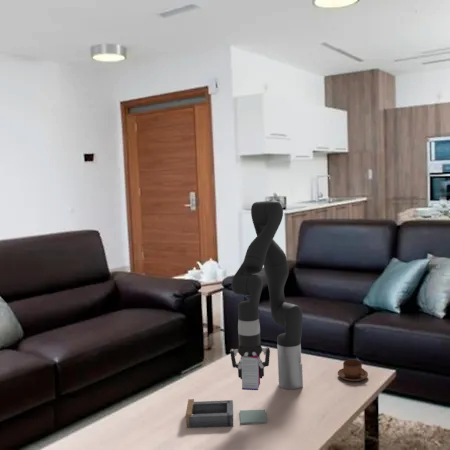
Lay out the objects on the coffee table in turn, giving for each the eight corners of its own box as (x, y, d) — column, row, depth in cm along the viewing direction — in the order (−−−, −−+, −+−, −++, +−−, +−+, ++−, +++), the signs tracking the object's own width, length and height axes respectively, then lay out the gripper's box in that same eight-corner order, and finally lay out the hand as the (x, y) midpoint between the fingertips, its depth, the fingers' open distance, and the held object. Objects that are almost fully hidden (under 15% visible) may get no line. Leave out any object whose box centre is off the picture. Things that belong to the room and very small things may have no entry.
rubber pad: (265, 411, 189) (265, 409, 189) (266, 423, 180) (266, 421, 180) (240, 412, 189) (240, 410, 189) (240, 424, 180) (240, 422, 180)
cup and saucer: (371, 374, 216) (371, 360, 216) (362, 385, 206) (362, 370, 206) (343, 370, 223) (343, 356, 222) (333, 380, 213) (333, 365, 212)
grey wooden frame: (233, 410, 190) (232, 397, 190) (233, 426, 179) (232, 412, 178) (189, 412, 191) (188, 399, 190) (186, 428, 179) (185, 414, 178)
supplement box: (258, 390, 180) (257, 358, 179) (241, 389, 181) (240, 357, 180) (261, 383, 185) (259, 352, 184) (244, 383, 187) (243, 351, 185)
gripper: (269, 327, 185) (271, 373, 186) (228, 328, 185) (230, 374, 187) (270, 333, 177) (272, 381, 179) (228, 335, 177) (230, 383, 179)
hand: (251, 377), depth 183 cm, fingers closed on supplement box, 6 cm apart
